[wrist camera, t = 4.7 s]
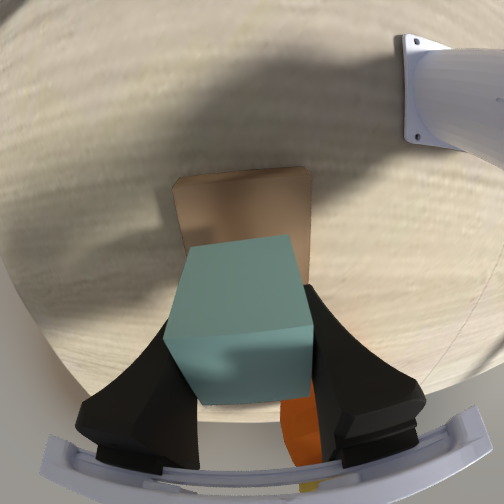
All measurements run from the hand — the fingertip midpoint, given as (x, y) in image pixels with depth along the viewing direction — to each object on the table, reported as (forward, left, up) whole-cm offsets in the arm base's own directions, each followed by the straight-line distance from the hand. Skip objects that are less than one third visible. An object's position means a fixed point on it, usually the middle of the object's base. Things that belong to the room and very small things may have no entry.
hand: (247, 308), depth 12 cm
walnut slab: (0, 0, -8) cm, 8 cm away
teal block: (0, 0, -2) cm, 2 cm away
